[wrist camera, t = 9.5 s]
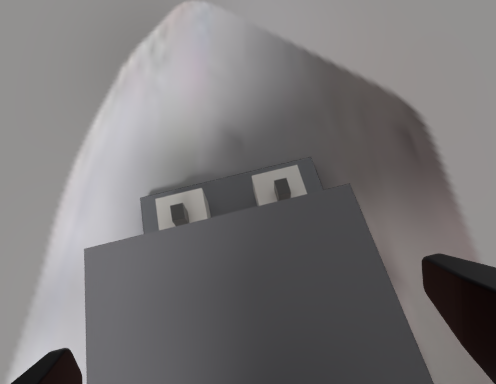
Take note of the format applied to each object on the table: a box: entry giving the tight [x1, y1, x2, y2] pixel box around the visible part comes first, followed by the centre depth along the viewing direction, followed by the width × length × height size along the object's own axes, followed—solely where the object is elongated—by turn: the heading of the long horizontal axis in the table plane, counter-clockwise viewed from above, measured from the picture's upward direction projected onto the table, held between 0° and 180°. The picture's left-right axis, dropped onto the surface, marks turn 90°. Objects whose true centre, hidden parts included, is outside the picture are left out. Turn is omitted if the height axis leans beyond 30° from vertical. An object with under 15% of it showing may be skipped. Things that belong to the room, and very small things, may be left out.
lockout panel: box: [140, 157, 323, 234], centre depth 16 cm, size 15×10×4 cm, turn 13°
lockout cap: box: [84, 184, 434, 384], centre depth 10 cm, size 5×5×12 cm
